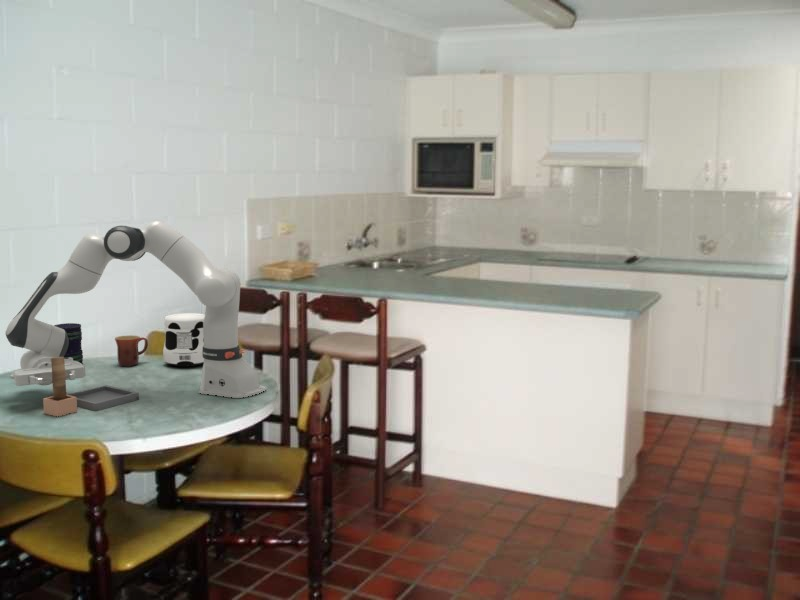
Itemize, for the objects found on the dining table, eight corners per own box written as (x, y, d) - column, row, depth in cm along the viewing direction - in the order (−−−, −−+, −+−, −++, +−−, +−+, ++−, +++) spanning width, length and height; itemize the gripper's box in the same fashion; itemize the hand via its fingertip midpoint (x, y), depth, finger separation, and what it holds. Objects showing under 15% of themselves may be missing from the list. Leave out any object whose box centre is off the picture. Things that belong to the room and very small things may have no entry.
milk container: (194, 357, 330) (193, 310, 327) (220, 364, 318) (219, 316, 315) (154, 364, 317) (152, 316, 315) (179, 371, 305) (178, 322, 303)
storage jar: (60, 370, 307) (58, 329, 304) (50, 365, 314) (48, 325, 311) (87, 366, 313) (85, 325, 311) (77, 361, 320) (75, 322, 318)
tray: (139, 399, 268) (138, 392, 268) (95, 410, 255) (95, 403, 255) (106, 391, 277) (105, 385, 277) (62, 402, 264) (62, 395, 264)
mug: (121, 368, 309) (120, 340, 308) (112, 364, 316) (111, 337, 314) (153, 364, 317) (152, 337, 315) (143, 360, 324) (142, 333, 322)
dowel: (69, 410, 254) (66, 357, 251) (58, 413, 251) (56, 359, 248) (62, 408, 256) (59, 356, 253) (51, 411, 253) (48, 358, 250)
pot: (77, 411, 254) (76, 397, 254) (57, 416, 249) (56, 401, 248) (63, 408, 258) (62, 393, 257) (43, 413, 252) (43, 398, 252)
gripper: (7, 365, 259) (18, 373, 248) (76, 356, 271) (90, 364, 260) (8, 385, 260) (19, 394, 249) (78, 376, 272) (91, 384, 261)
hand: (56, 379), depth 255 cm, fingers open, 8 cm apart
